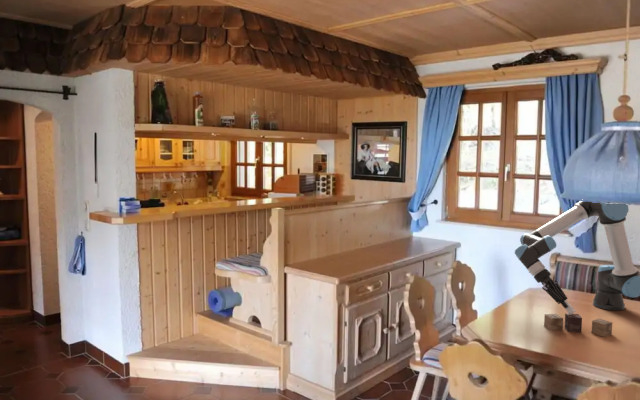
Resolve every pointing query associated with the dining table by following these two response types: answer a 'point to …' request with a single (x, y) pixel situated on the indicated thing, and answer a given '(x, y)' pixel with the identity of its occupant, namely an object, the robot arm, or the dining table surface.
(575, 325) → the box
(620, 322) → the dining table surface
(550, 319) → the marked block two
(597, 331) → the marked block one
